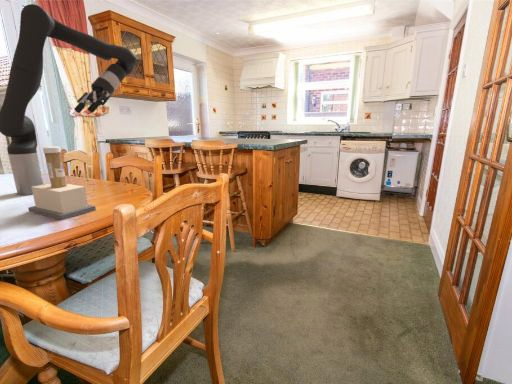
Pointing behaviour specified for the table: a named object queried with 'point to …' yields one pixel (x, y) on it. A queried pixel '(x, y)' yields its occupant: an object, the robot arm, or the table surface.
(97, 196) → the table surface
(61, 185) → the sprinkles bottle
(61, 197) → the cream and grey block
